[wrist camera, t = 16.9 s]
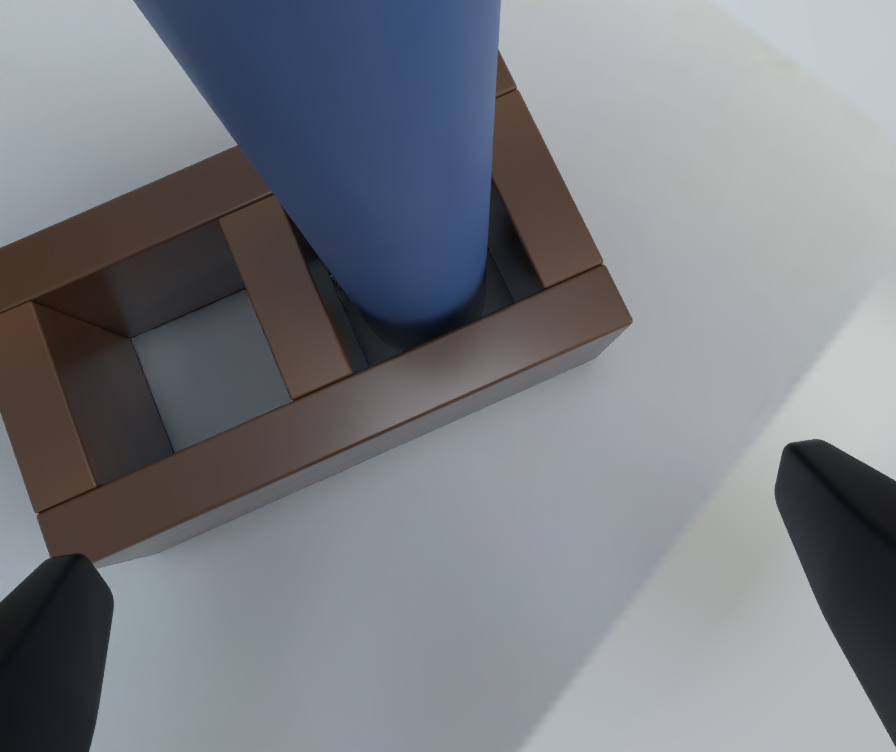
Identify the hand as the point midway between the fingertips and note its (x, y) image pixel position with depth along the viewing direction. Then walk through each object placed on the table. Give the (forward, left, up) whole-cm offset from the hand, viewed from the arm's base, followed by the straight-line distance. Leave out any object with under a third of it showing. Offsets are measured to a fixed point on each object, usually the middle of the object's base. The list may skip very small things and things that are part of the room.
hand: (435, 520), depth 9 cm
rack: (+5, +1, -8) cm, 9 cm away
